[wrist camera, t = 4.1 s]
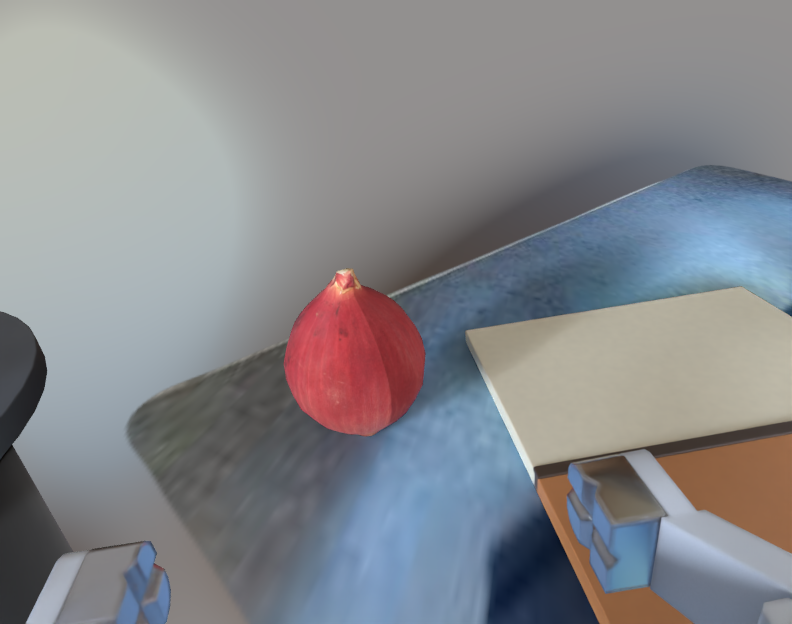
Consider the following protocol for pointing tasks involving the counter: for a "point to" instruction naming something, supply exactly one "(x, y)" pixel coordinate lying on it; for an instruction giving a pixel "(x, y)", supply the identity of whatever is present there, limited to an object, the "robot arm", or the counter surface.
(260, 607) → the counter surface
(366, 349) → the onion
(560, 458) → the sorting board
